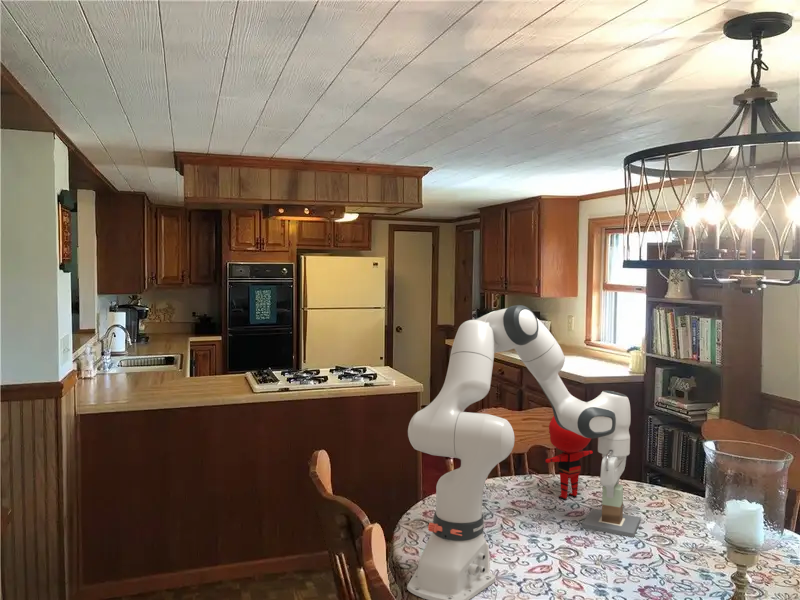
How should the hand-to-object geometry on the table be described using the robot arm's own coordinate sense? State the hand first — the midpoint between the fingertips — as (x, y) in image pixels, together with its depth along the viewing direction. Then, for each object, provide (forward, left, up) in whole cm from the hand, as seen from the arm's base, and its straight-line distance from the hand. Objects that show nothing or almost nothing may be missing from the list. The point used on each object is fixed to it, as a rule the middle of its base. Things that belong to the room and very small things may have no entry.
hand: (612, 493), depth 182 cm
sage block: (0, 0, -3) cm, 3 cm away
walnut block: (0, 0, -8) cm, 8 cm away
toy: (+16, +16, -9) cm, 25 cm away
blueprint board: (0, 0, -9) cm, 9 cm away
